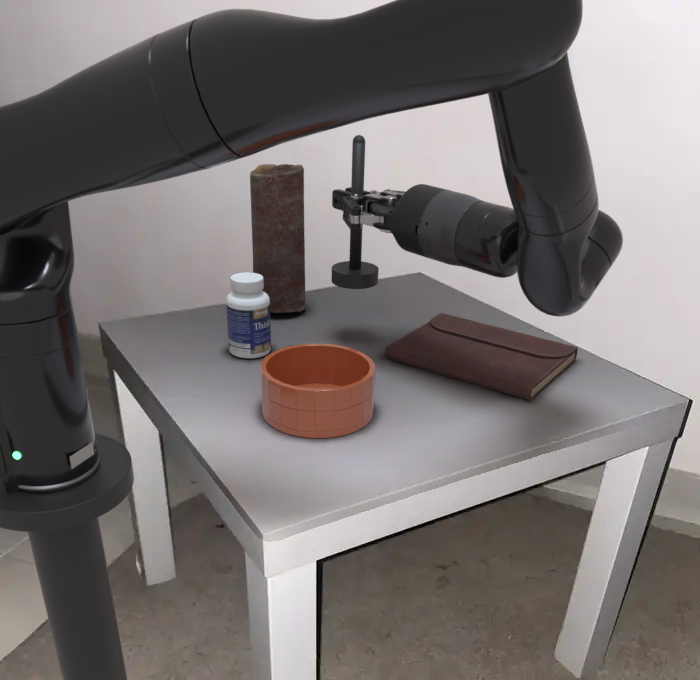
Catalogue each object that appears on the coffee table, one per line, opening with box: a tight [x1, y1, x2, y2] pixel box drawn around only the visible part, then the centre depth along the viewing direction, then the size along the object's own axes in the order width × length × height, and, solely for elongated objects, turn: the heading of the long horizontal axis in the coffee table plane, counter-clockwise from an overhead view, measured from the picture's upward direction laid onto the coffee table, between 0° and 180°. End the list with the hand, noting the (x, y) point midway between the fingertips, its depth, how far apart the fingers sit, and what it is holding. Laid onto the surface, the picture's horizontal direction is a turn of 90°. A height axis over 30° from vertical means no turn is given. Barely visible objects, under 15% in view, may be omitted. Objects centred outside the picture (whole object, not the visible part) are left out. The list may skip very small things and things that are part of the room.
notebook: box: [384, 312, 579, 402], centre depth 98 cm, size 15×20×2 cm
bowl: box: [259, 342, 377, 439], centre depth 84 cm, size 12×12×6 cm
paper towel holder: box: [331, 134, 379, 290], centre depth 95 cm, size 6×6×18 cm
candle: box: [249, 163, 306, 314], centre depth 106 cm, size 8×7×20 cm
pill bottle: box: [225, 271, 272, 360], centre depth 96 cm, size 5×5×10 cm
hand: (340, 197), depth 96 cm, fingers closed on paper towel holder, 1 cm apart
